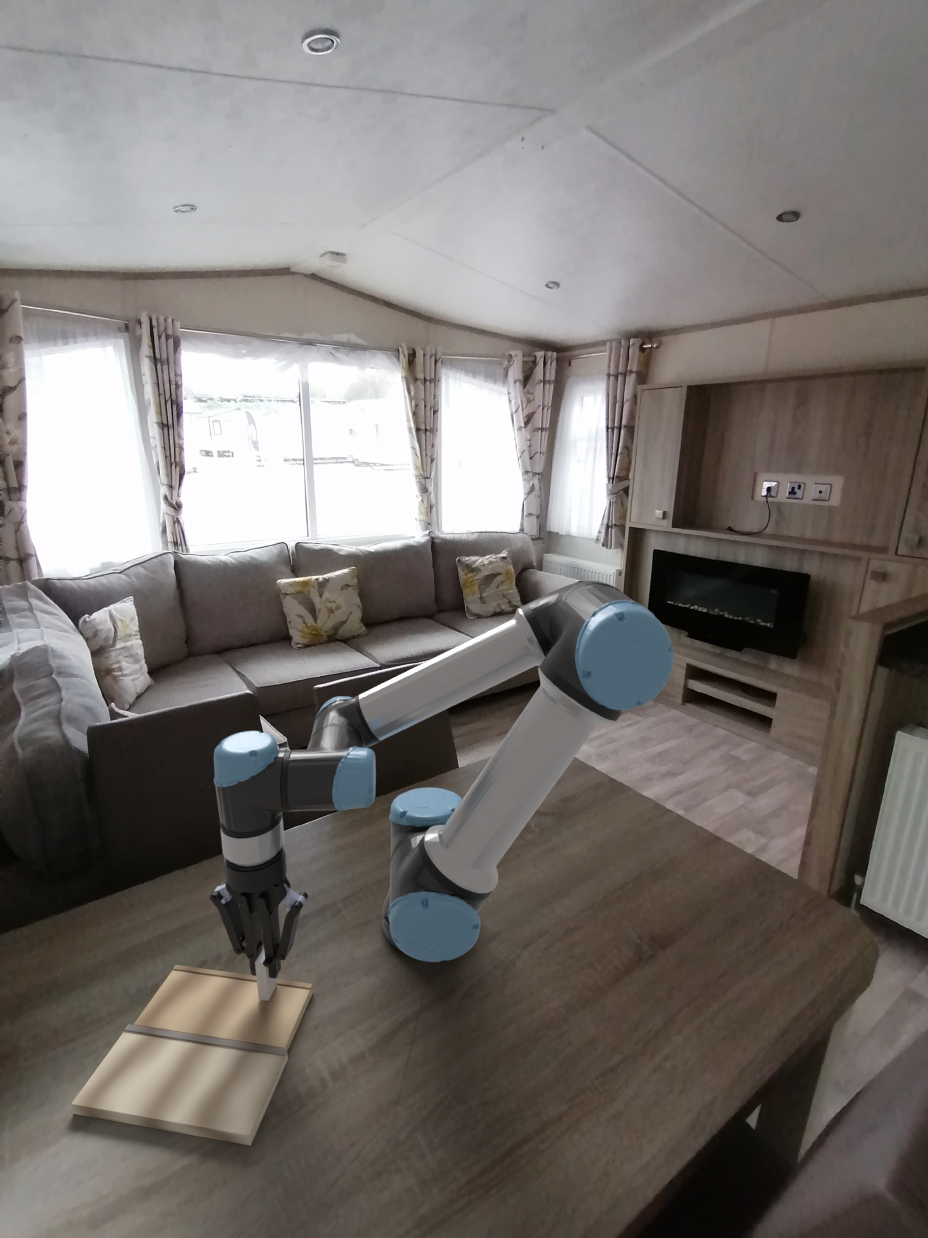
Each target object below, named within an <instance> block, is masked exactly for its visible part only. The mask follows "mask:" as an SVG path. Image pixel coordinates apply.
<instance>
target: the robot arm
mask: <svg viewBox="0 0 928 1238" xmlns="http://www.w3.org/2000/svg"><path fill="white" fill-rule="evenodd" d="M674 657H675V656H674V650H673V642H672V639H671V636H670V634H669V632H668V630H667V628H666V627H665V626H664V624H662V622H661V621H660V620H659V619H658V618H657V617H656V616H655V614H654V613H653V611H650V610H649V609H648V608H647V607H646V606H644V605H642V604H640V603H638V602H636V601H635V600H633V599H632V598H631V597H629V596H627V595H626V594H625V593H624V592H622V591H621V590H620V589H618V588H617V587H615V586H613V585H611V584H609V583H606V582H603V581H599V580H582V581H577V582H573V583H571V584H566V585H564V586H563V587H559V588H557V589H555V590H552V591H551V592H549V593H546V594H545V595H542V596H540V597H538V598H536V599H534V600H533V601H530V602H528V603H526V604H524V605H522V606H520V607H518V608H517V609H516V612H515V615H514V616H513V618H511V619H510V620H508V621H507V620H506V621H505V622H504V623H502V624H500V625H498V626H495V627H494V628H492V629H489V630H487V631H485V632H483V633H481V634H479V635H477V636H475V637H473V638H471V639H469V640H467V641H465V642H463V643H462V644H459V645H456V646H455V647H452V648H451V649H449V650H447V651H445V652H443V653H441V654H439V655H437V656H435V657H433V658H430V659H428V660H426V661H425V662H423V663H421V664H419V665H417V666H414V667H413V668H411V669H409V670H407V671H405V672H402V673H401V674H398V675H396V676H395V677H393V678H390V679H389V680H386V681H385V682H382V683H380V684H378V685H377V686H373V688H370V689H368V690H367V691H364V692H361V693H359V694H358V695H356V696H354V697H353V696H352V697H351V696H347V695H346V696H345V695H344V696H343V695H342V696H334V697H332V698H330V699H328V700H327V701H325V702H324V704H323V705H322V706H321V707H320V710H319V712H317V714H316V716H315V719H314V721H313V725H312V732H311V736H310V739H309V742H308V745H307V748H306V749H293V750H292V749H290V750H289V749H280V748H279V745H278V742H277V740H276V738H275V736H274V735H272V734H271V733H268V732H262V731H260V730H246V731H240V732H236V733H234V734H231V735H229V736H227V737H225V738H224V739H222V740H221V741H220V742H219V743H218V745H216V747H215V748H214V753H213V769H214V770H213V771H214V778H213V783H214V787H215V792H216V793H215V794H216V795H215V796H216V801H217V802H216V803H217V808H218V809H217V810H218V817H219V826H220V827H219V828H220V837H221V848H222V855H223V856H224V857H223V865H224V873H225V879H226V881H225V882H224V881H221V882H219V884H218V885H217V886H216V888H215V889H214V890H213V892H212V893H211V894H210V896H209V899H210V901H211V902H212V904H213V905H214V906H215V907H216V908H217V910H218V912H219V916H220V918H221V920H222V922H223V926H224V928H225V930H226V934H227V936H228V938H229V941H230V944H231V946H232V949H233V952H234V953H235V954H236V955H239V956H240V955H242V954H245V955H246V958H247V959H248V960H249V970H250V975H252V976H256V978H257V987H258V997H259V1000H265V1001H269V1000H270V998H271V996H272V994H273V992H274V990H275V988H276V986H277V979H278V975H279V973H280V972H281V969H282V961H285V960H286V958H288V955H289V953H290V951H291V949H292V948H293V946H294V942H295V938H296V933H297V927H298V923H299V920H300V914H301V911H302V909H303V907H304V905H305V904H306V902H307V899H308V898H309V895H308V893H307V892H305V891H301V892H299V893H298V892H296V891H294V890H293V889H292V888H291V886H292V885H291V882H290V881H289V879H288V877H287V856H286V846H285V835H284V834H285V833H284V821H283V820H284V819H283V818H284V817H283V813H285V812H286V813H287V812H289V813H291V812H317V811H319V812H320V811H322V812H325V811H327V812H328V811H329V812H331V811H339V812H344V811H345V812H346V811H347V810H352V809H363V808H364V809H365V808H368V807H370V806H372V804H373V803H374V802H375V799H376V782H377V781H376V779H377V778H376V777H377V770H376V753H375V751H374V750H373V749H372V748H369V747H372V746H373V745H376V744H379V743H380V742H382V741H383V740H385V739H387V738H389V737H391V736H394V735H395V734H397V733H400V732H401V731H404V730H406V729H408V728H410V727H412V726H414V725H417V724H418V723H420V722H423V721H425V720H426V719H429V718H431V717H432V716H434V715H437V714H439V713H441V712H443V711H445V710H447V709H449V708H451V707H454V706H455V705H458V704H459V703H461V702H464V701H465V700H468V699H470V698H471V697H474V696H476V695H478V694H480V693H482V692H485V691H487V690H488V689H490V688H493V687H495V686H497V685H499V684H501V683H503V682H505V681H507V680H509V679H511V678H513V677H516V676H517V675H519V674H521V673H523V672H525V671H528V670H530V669H532V668H534V667H537V666H538V667H537V671H538V676H539V681H540V684H539V685H540V686H539V687H538V688H537V690H536V691H535V693H534V694H533V695H532V697H531V698H530V700H529V702H528V703H527V705H526V706H525V707H524V710H523V711H522V712H521V714H520V715H519V716H518V717H517V719H516V721H515V722H514V724H513V725H512V726H511V728H510V729H509V731H508V732H507V734H506V735H505V736H504V738H503V740H502V741H501V742H500V743H499V745H498V747H497V748H496V750H495V751H494V753H493V754H492V756H491V757H490V758H489V760H488V762H487V763H486V764H485V766H484V767H483V769H482V770H481V772H480V773H479V775H478V776H477V777H476V778H475V780H474V782H473V783H472V784H471V786H470V788H469V789H468V790H467V792H466V793H465V795H464V797H463V798H462V797H461V796H460V795H458V794H457V793H455V792H453V791H451V790H448V789H445V788H439V787H419V788H413V789H410V790H407V791H405V792H402V793H401V794H399V795H398V796H396V797H395V798H394V799H393V801H392V803H391V806H390V814H389V816H388V818H389V821H390V866H389V868H390V869H389V888H388V891H387V893H386V897H385V900H384V902H383V906H382V910H381V925H382V927H381V928H382V931H383V934H384V936H385V938H386V940H387V941H388V942H389V943H390V945H392V946H393V947H394V948H395V949H397V950H399V951H401V952H402V953H404V954H405V955H407V956H409V957H411V958H413V959H416V960H418V961H423V962H428V963H440V962H443V961H451V960H456V959H457V958H460V957H462V956H463V955H465V954H467V952H468V951H470V950H471V949H472V948H473V947H474V945H476V942H477V941H478V939H479V935H480V932H481V931H480V928H481V927H482V926H481V925H482V921H481V918H480V917H481V916H480V915H479V912H480V910H481V908H482V907H483V905H484V903H485V902H486V901H487V900H488V898H489V897H490V895H491V894H492V893H493V891H494V890H495V889H496V887H497V885H498V883H499V873H498V869H497V865H498V864H499V863H500V861H501V859H502V858H504V855H506V853H507V852H508V850H509V849H510V847H511V846H512V844H513V843H514V842H515V840H516V839H517V838H518V836H519V835H520V834H521V833H522V831H523V829H524V828H525V826H526V825H527V823H528V822H529V821H530V820H531V819H532V818H533V817H532V816H533V815H534V814H535V813H536V812H537V810H538V809H539V807H540V806H541V804H542V803H543V802H544V800H545V798H546V797H547V796H548V795H549V793H550V792H551V791H552V789H553V788H554V787H555V785H556V783H557V782H558V781H559V779H560V778H561V777H562V775H563V774H564V772H566V770H567V769H568V767H569V765H570V764H571V763H572V761H573V760H574V759H575V757H576V756H577V755H578V753H579V751H580V750H581V749H582V748H583V746H584V745H585V744H586V742H587V741H588V739H589V738H590V737H591V735H592V734H593V733H594V731H595V729H596V728H597V727H598V726H601V725H609V724H615V723H616V722H617V721H618V720H619V718H620V716H621V715H622V714H623V713H624V712H625V711H630V710H634V709H635V708H636V707H638V706H643V707H644V706H645V705H646V704H648V703H649V702H651V701H653V700H654V699H655V698H656V697H657V696H658V695H659V694H660V693H661V692H662V691H663V689H664V688H665V686H666V685H667V683H668V681H669V679H670V676H671V674H672V670H673V667H674ZM284 900H285V901H286V902H285V903H286V904H285V910H286V912H287V913H286V915H285V919H284V921H283V922H284V923H283V927H282V932H281V929H280V928H281V926H280V917H279V908H280V907H279V906H280V905H281V903H282V902H283V901H284Z"/></svg>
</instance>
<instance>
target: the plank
mask: <svg viewBox="0 0 928 1238" xmlns="http://www.w3.org/2000/svg"><path fill="white" fill-rule="evenodd" d="M313 995H314V986H313V983H309V982H308V983H307V982H301V981H293V980H288V979H287V980H286V979H280V978H277V986H276V988H275V990H274V992H273V994H272V996H271V998H270V1000H269V1001H265V1000H259V997H258V987H257V978H256V976H253V975H252V974H246V973H245V974H244V973H237V972H231V971H223V970H217V969H211V968H208V969H207V968H201V967H194V966H189V965H180V964H175V965H174V966H173V968H172V970H171V971H170V973H169V975H168V976H167V977H166V979H165V980H164V981H163V983H162V984H161V985H160V986H159V988H158V990H157V991H156V993H154V995H153V997H152V998H151V999H150V1001H149V1002H148V1004H147V1005H146V1006H145V1008H144V1009H143V1011H142V1012H141V1014H140V1015H139V1016H138V1018H137V1019H136V1020H135V1021H134V1023H133V1025H137V1026H144V1027H150V1028H157V1029H163V1030H169V1031H176V1032H182V1033H189V1034H195V1035H201V1036H208V1037H214V1038H221V1039H227V1040H233V1041H240V1042H246V1043H252V1044H259V1045H265V1046H272V1047H278V1048H284V1049H287V1052H288V1051H289V1048H290V1047H291V1045H292V1042H293V1040H294V1037H295V1035H296V1033H297V1031H298V1029H299V1026H300V1024H301V1022H302V1019H303V1017H304V1015H305V1013H306V1009H307V1008H308V1005H309V1003H310V1001H311V999H312V996H313Z"/></svg>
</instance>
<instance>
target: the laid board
mask: <svg viewBox="0 0 928 1238" xmlns="http://www.w3.org/2000/svg"><path fill="white" fill-rule="evenodd" d="M288 1060H289V1057H288V1051H287V1049H284V1048H278V1047H272V1046H265V1045H259V1044H252V1043H246V1042H240V1041H233V1040H227V1039H221V1038H214V1037H208V1036H201V1035H195V1034H189V1033H182V1032H176V1031H169V1030H163V1029H157V1028H150V1027H144V1026H137V1025H134V1024H130V1023H128V1024H127V1025H126V1027H125V1028H124V1030H123V1032H122V1034H121V1035H120V1037H119V1038H118V1039H117V1040H116V1042H115V1043H114V1045H113V1046H112V1047H111V1049H110V1050H109V1051H108V1053H107V1055H106V1056H105V1057H104V1059H102V1061H101V1062H100V1064H99V1065H98V1067H97V1068H96V1070H95V1071H94V1072H93V1073H92V1074H91V1076H90V1078H89V1079H88V1080H87V1082H86V1083H85V1084H84V1086H83V1087H82V1088H81V1090H80V1091H79V1092H78V1094H77V1095H76V1097H75V1098H74V1099H73V1101H72V1102H71V1108H72V1112H73V1113H72V1114H74V1115H78V1116H84V1117H90V1118H95V1119H101V1120H106V1121H112V1122H117V1123H122V1124H129V1125H134V1126H139V1127H145V1128H151V1129H156V1130H160V1131H161V1130H162V1131H167V1132H172V1133H178V1134H183V1135H190V1136H195V1137H202V1138H205V1139H211V1140H217V1141H222V1142H227V1143H228V1142H229V1143H234V1144H239V1145H245V1146H252V1144H253V1141H254V1140H255V1137H256V1134H257V1132H258V1129H259V1127H260V1126H261V1122H262V1120H263V1117H265V1114H266V1111H267V1109H268V1107H269V1104H270V1102H271V1100H272V1098H273V1096H274V1092H275V1091H276V1088H277V1086H278V1084H279V1082H280V1079H281V1076H282V1074H283V1072H284V1069H285V1067H286V1065H287V1064H288Z"/></svg>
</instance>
